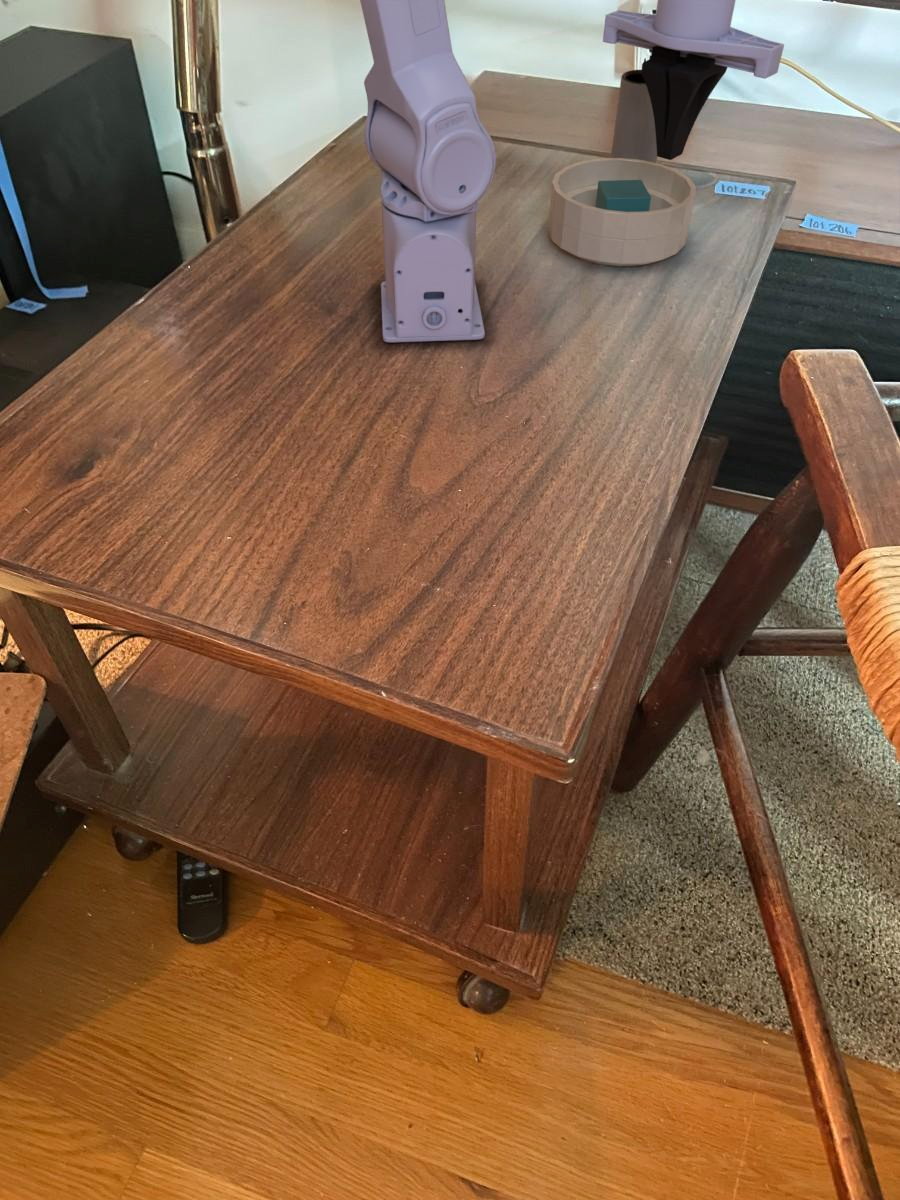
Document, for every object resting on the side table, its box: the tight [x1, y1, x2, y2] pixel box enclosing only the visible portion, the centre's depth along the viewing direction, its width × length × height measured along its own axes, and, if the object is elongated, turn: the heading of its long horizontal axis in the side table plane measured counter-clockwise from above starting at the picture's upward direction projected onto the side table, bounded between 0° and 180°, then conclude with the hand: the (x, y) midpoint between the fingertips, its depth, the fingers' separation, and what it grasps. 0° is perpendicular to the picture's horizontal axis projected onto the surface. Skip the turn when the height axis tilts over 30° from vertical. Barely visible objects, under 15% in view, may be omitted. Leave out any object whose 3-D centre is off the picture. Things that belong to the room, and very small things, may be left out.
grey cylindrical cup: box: [610, 69, 658, 163], centre depth 87 cm, size 4×4×10 cm
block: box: [595, 180, 651, 212], centre depth 81 cm, size 4×4×4 cm
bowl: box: [547, 157, 697, 267], centre depth 81 cm, size 13×13×5 cm
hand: (669, 155), depth 75 cm, fingers closed
